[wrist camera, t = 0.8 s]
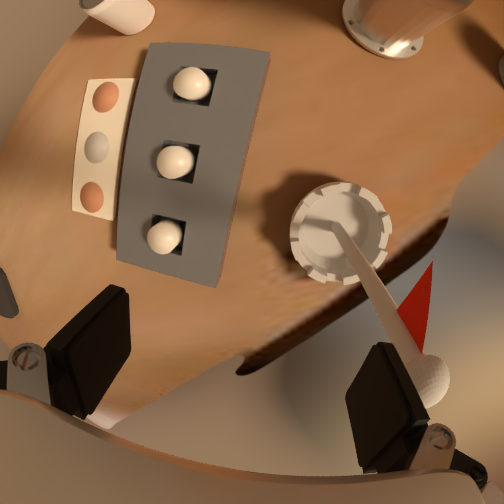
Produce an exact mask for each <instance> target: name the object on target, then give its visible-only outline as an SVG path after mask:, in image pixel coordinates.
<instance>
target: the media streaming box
mask: <svg viewBox="0 0 504 504" xmlns="http://www.w3.org/2000/svg"><path fill="white" fill-rule="evenodd" d="M17 314H18V306H17V303H16V301H15V298H14V295H13V293H12V290H11V287H10V285H9V282H8V279H7V277H6V275H5V273H4V271H3V270H2V269H1V268H0V315H1V316H3V317H6V318H14V317H15V316H16V315H17Z"/></svg>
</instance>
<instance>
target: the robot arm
mask: <svg viewBox="0 0 504 504" xmlns="http://www.w3.org/2000/svg"><path fill="white" fill-rule="evenodd" d="M503 1H504V0H503ZM472 2H473V0H345V2H344V4H343V7H342V19H343V22H344V25H345V27H346V29H347V30H348V32H349V33H350V34H351V36H352V37H353V38H354V39H355V40H356V41H357V42H358V43H359V44H360V45H361V46H363V47H364V48H365V49H367V50H369V51H370V52H372V53H374V54H376V55H378V56H380V57H384V58H387V59H394V60H402V59H406V58H409V57H411V56H413V55H415V54H416V53H417V52H418V51H419V50H420V49H421V47H422V44H423V38H424V36H423V35H425V34H426V33H428V32H429V31H431V30H432V29H434V28H435V27H437V26H438V25H440V24H441V23H443V22H444V21H446V20H448V19H449V18H451V17H452V16H454V15H456V14H457V13H459V12H460V11H462V10H464V9H465V8H467V7H468V6H469V5H470V4H471V3H472ZM350 24H351V25H350ZM379 50H380V51H381V52H380V51H379ZM130 352H131V336H130V312H129V294H128V293H126V291H125V289H124V288H122V287H119V286H115V285H112V284H110V285H109V286H108V287H106V288H105V289H104V290H103V291H102V292H101V293H100V294H99V295H97V296H96V297H95V298H94V299H93V300H92V301H91V302H90V303H89V304H88V305H86V306H85V307H84V308H83V309H82V310H81V311H80V312H79V313H78V314H77V315H76V316H75V317H74V318H72V319H71V320H70V321H69V322H68V323H67V324H66V325H65V326H64V327H63V328H62V329H61V330H60V331H59V332H58V333H57V334H56V335H55V336H54V337H53V338H52V339H51V340H50V341H49V342H48V343H47V345H46V346H45V347H44V348H42V347H40V346H39V345H37V344H34V343H23V344H20V345H18V346H16V347H15V348H13V349H12V350H11V352H10V354H9V357H8V360H6V361H0V504H504V494H503V493H502V492H501V491H500V490H499V489H498V488H497V487H496V486H495V485H494V484H493V483H492V482H491V481H488V482H487V478H488V476H487V471H486V469H485V467H484V466H483V465H482V464H481V463H479V462H477V461H476V460H474V459H472V458H470V457H469V456H467V455H465V454H464V453H462V452H460V451H458V450H457V449H455V446H456V438H455V435H454V434H453V432H452V431H451V430H450V429H449V428H448V427H447V426H445V425H443V424H439V423H435V424H432V425H430V426H428V424H427V422H428V421H429V420H430V418H429V415H428V413H427V411H426V409H425V407H424V404H423V402H422V400H421V398H420V396H419V394H418V392H417V390H416V387H415V385H414V383H413V381H412V379H411V377H410V375H409V373H408V371H407V369H406V367H405V365H404V363H403V361H402V360H401V358H400V356H399V354H398V352H397V350H396V348H395V346H394V345H393V344H392V343H385V342H378V343H377V344H376V345H373V346H372V348H371V350H370V352H369V354H368V356H367V357H366V359H365V361H364V363H363V365H362V366H361V368H360V370H359V372H358V374H357V375H356V377H355V379H354V381H353V382H352V384H351V386H350V387H349V389H348V390H347V392H346V396H345V400H346V405H347V409H348V414H349V419H350V423H351V428H352V432H353V438H354V442H355V448H356V453H357V458H358V463H359V466H360V467H362V468H363V474H365V473H376V472H377V474H368V475H355V476H354V475H353V476H327V477H326V476H322V477H319V476H288V475H276V474H265V473H256V472H249V471H242V470H236V469H230V468H224V467H218V466H214V465H209V464H204V463H200V462H196V461H192V460H187V459H184V458H180V457H176V456H173V455H169V454H166V453H163V452H159V451H156V450H153V449H150V448H147V447H144V446H141V445H138V444H136V443H133V442H130V441H128V440H125V439H123V438H120V437H117V436H115V435H112V434H110V433H108V432H106V431H103V430H101V429H98V428H96V427H94V426H92V425H90V424H87V423H85V422H83V421H81V420H79V419H77V418H75V417H73V415H75V416H77V417H79V418H81V419H83V420H85V418H86V416H87V415H88V414H89V415H91V414H92V413H93V412H94V410H95V409H96V407H97V406H98V404H99V402H100V401H101V399H102V397H103V396H104V394H105V393H106V391H107V389H108V388H109V386H110V385H111V383H112V382H113V380H114V378H115V377H116V375H117V374H118V372H119V371H120V369H121V368H122V366H123V364H124V363H125V361H126V360H127V358H128V357H129V355H130Z"/></svg>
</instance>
